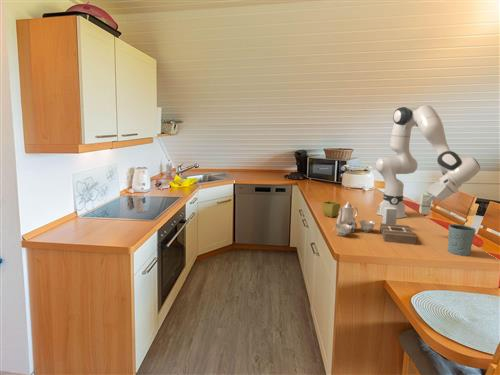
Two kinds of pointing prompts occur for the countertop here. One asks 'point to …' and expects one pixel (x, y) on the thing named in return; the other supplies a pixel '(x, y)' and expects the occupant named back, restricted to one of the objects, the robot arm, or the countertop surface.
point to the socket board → (397, 233)
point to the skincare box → (389, 215)
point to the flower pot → (330, 208)
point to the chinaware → (350, 221)
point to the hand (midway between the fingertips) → (424, 201)
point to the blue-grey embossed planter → (460, 239)
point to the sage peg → (424, 204)
